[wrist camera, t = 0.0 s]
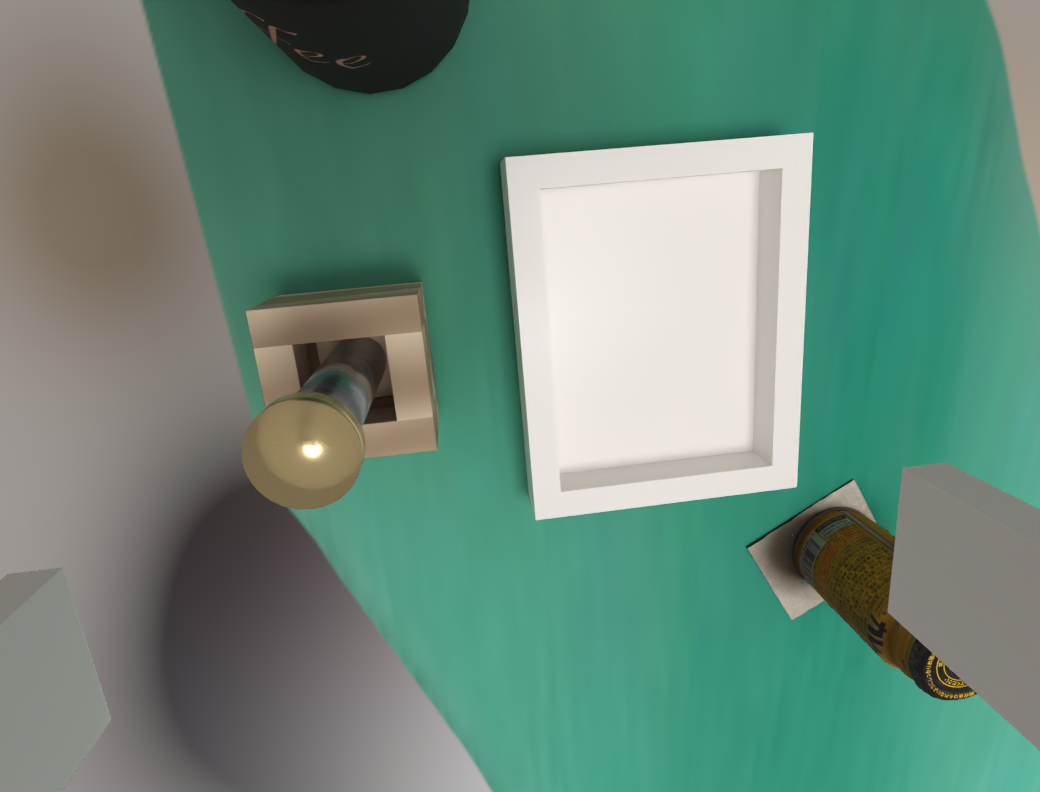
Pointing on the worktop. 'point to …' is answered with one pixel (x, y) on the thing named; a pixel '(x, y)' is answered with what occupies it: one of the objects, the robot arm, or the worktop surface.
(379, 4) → the coffee jar
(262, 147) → the worktop surface
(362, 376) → the steel pin
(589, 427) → the tray
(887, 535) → the condiment
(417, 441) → the block
